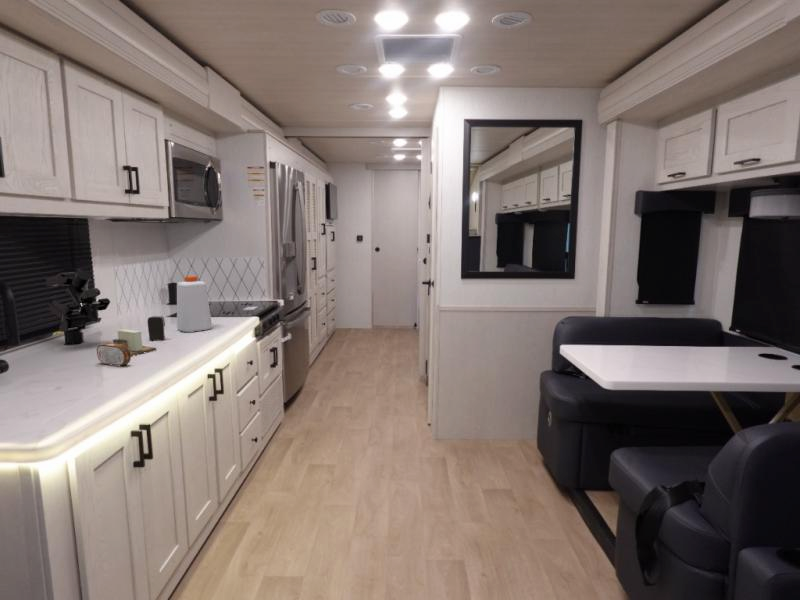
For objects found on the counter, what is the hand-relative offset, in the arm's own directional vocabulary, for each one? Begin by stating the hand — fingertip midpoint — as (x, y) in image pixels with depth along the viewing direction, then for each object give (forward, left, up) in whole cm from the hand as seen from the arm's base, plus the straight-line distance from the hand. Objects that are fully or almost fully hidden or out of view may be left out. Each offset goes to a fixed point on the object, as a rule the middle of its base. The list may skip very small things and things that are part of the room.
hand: (96, 320), depth 214 cm
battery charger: (+23, +7, -12) cm, 27 cm away
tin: (+13, -35, -12) cm, 39 cm away
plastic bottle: (+38, +27, -12) cm, 48 cm away
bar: (+15, -15, -11) cm, 24 cm away
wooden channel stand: (+15, -15, -12) cm, 24 cm away
